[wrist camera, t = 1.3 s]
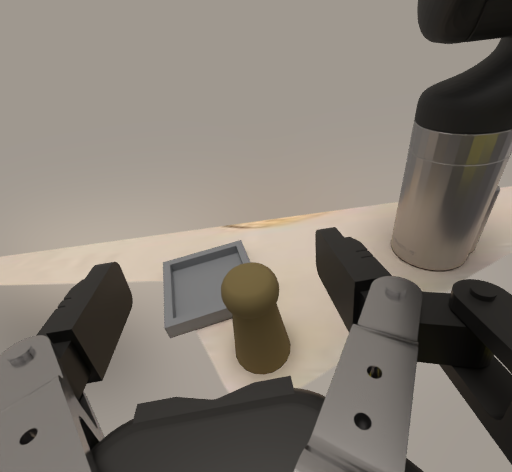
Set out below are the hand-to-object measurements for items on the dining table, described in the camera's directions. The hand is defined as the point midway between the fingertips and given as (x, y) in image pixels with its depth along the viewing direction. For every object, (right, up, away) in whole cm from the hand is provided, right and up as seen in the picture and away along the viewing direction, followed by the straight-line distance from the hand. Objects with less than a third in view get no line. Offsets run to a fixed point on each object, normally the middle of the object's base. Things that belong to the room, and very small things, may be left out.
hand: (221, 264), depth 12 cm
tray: (-5, -6, +27) cm, 28 cm away
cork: (+2, -11, +19) cm, 22 cm away
